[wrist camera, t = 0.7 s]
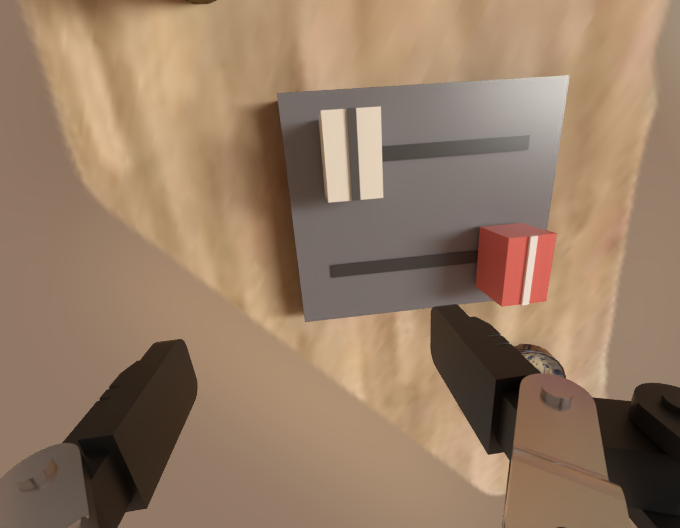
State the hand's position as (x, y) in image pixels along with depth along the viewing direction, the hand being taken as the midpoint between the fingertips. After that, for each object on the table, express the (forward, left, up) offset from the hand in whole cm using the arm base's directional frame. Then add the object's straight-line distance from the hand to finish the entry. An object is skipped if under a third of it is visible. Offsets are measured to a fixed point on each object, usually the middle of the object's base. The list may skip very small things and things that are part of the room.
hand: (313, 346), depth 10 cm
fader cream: (-6, +4, -18) cm, 19 cm away
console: (-1, +11, -22) cm, 24 cm away
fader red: (+4, +18, -18) cm, 26 cm away
